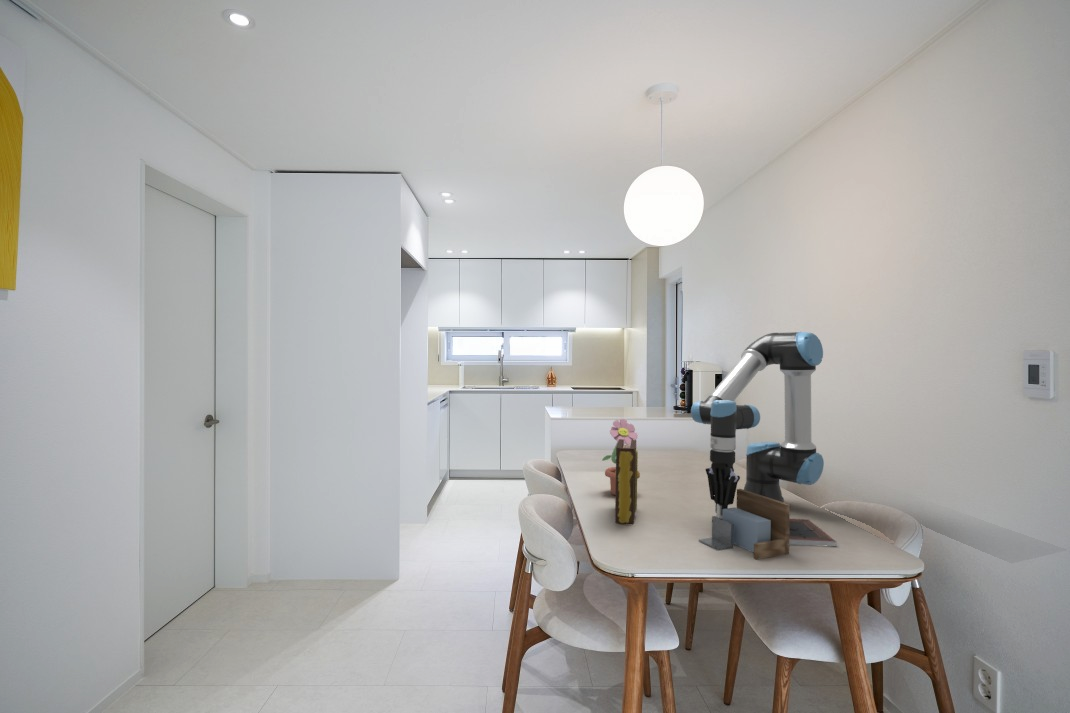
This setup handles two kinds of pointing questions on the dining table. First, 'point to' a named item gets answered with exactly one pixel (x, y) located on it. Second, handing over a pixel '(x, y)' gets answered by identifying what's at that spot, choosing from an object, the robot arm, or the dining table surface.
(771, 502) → the shelf
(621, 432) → the decorative flower
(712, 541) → the bookend
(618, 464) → the book
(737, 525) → the boxed book
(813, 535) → the picture frame
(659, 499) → the dining table surface
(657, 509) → the dining table surface
